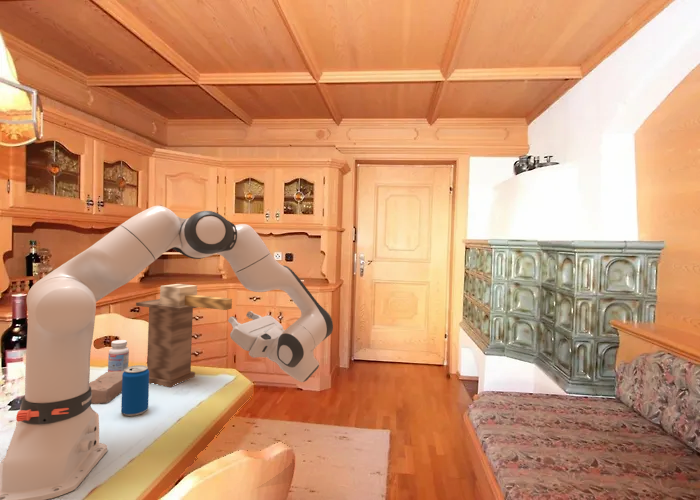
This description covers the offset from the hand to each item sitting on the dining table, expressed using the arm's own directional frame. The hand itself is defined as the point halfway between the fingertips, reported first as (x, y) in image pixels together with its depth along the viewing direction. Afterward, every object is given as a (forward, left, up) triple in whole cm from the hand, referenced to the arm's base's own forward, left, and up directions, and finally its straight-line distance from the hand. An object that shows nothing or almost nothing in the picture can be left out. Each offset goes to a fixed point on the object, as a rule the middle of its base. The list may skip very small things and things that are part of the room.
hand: (239, 315), depth 122 cm
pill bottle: (+27, +37, -25) cm, 52 cm away
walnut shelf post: (+17, +21, -24) cm, 36 cm away
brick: (+10, +37, -25) cm, 46 cm away
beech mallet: (+10, +12, +2) cm, 16 cm away
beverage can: (-7, +27, -25) cm, 38 cm away
